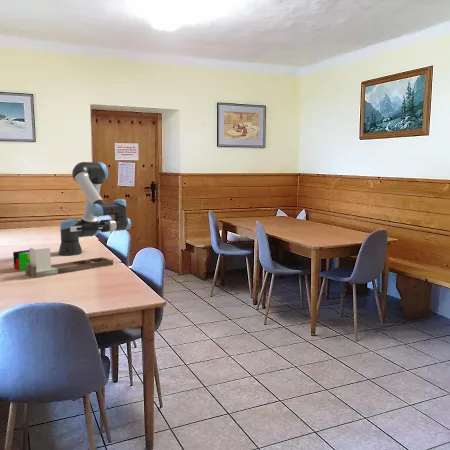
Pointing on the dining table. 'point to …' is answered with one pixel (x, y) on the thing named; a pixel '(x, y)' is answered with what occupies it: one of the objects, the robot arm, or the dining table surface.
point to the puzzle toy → (21, 259)
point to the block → (40, 258)
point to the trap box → (68, 267)
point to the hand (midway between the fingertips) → (70, 229)
